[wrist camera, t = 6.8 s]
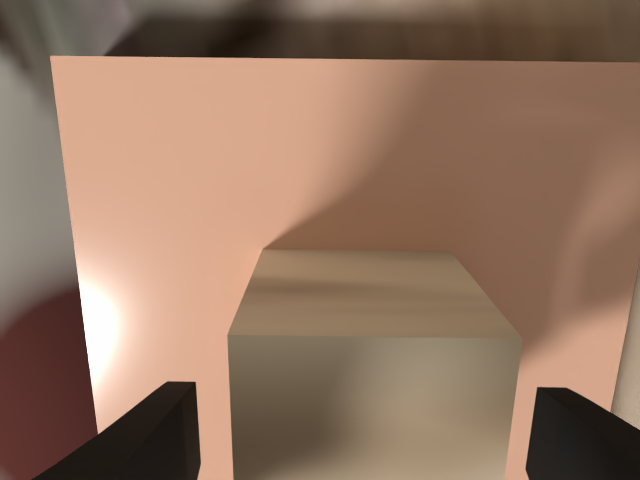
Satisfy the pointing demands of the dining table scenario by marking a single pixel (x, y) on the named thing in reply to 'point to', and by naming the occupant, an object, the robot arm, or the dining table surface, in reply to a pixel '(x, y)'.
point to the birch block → (369, 369)
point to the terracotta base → (346, 205)
